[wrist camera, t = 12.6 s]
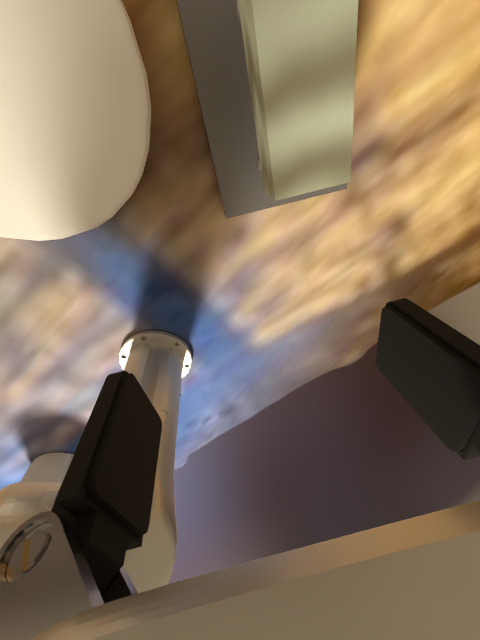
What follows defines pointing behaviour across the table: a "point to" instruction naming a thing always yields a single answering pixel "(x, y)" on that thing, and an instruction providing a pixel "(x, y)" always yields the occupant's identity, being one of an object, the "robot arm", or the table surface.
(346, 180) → the pale green rectangular block
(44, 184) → the plate
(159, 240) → the table surface
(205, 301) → the table surface
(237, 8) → the peg stand
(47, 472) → the utensil holder
